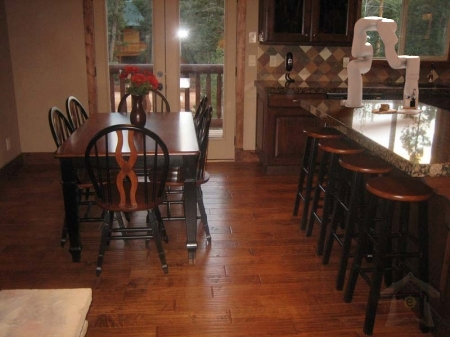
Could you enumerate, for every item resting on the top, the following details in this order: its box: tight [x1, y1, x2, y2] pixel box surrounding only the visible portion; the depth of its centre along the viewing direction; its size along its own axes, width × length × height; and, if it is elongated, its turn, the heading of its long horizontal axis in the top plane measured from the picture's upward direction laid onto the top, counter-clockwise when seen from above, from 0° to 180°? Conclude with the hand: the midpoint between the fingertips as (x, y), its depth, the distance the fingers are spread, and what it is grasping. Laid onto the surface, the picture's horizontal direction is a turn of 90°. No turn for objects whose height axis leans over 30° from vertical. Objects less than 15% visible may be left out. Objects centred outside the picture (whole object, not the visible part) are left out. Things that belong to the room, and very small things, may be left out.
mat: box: [396, 108, 424, 115], centre depth 288 cm, size 12×12×1 cm
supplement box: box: [402, 87, 420, 110], centre depth 301 cm, size 8×5×13 cm, turn 84°
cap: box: [405, 98, 416, 106], centre depth 286 cm, size 6×6×5 cm
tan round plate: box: [371, 103, 398, 115], centre depth 293 cm, size 15×15×5 cm
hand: (410, 106), depth 287 cm, fingers closed on cap, 6 cm apart
